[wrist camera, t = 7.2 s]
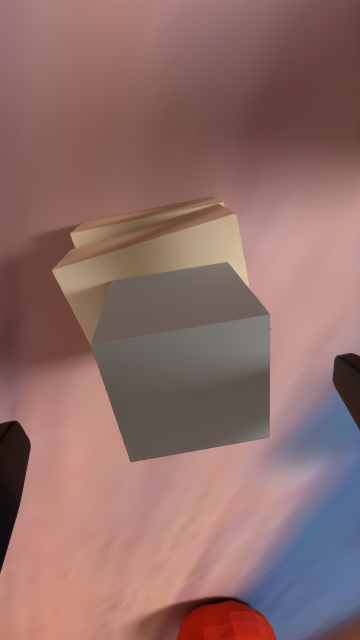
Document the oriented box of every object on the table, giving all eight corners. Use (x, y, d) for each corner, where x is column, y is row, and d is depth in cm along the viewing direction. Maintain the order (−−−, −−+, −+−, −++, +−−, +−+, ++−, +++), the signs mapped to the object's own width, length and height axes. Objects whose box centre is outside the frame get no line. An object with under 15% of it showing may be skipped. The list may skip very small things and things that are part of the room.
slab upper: (218, 203, 13) (235, 213, 11) (245, 332, 16) (263, 364, 14) (70, 249, 14) (51, 270, 11) (125, 367, 17) (121, 404, 14)
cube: (227, 261, 11) (270, 314, 7) (233, 357, 13) (269, 437, 10) (111, 281, 11) (91, 344, 7) (136, 373, 13) (130, 462, 9)
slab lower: (211, 195, 16) (224, 201, 13) (225, 311, 19) (237, 334, 16) (83, 222, 16) (70, 233, 13) (118, 332, 19) (114, 359, 16)
